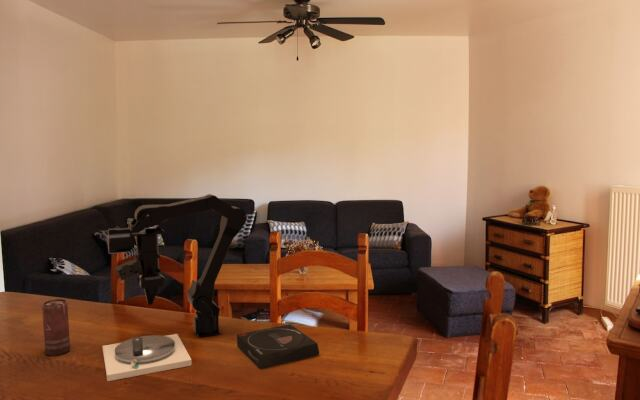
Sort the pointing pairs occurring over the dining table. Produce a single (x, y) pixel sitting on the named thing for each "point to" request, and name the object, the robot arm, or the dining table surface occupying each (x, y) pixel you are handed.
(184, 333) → the dining table surface
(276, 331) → the portable cd player
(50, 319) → the can
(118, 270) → the robot arm
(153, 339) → the dial
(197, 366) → the dining table surface
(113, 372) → the board
